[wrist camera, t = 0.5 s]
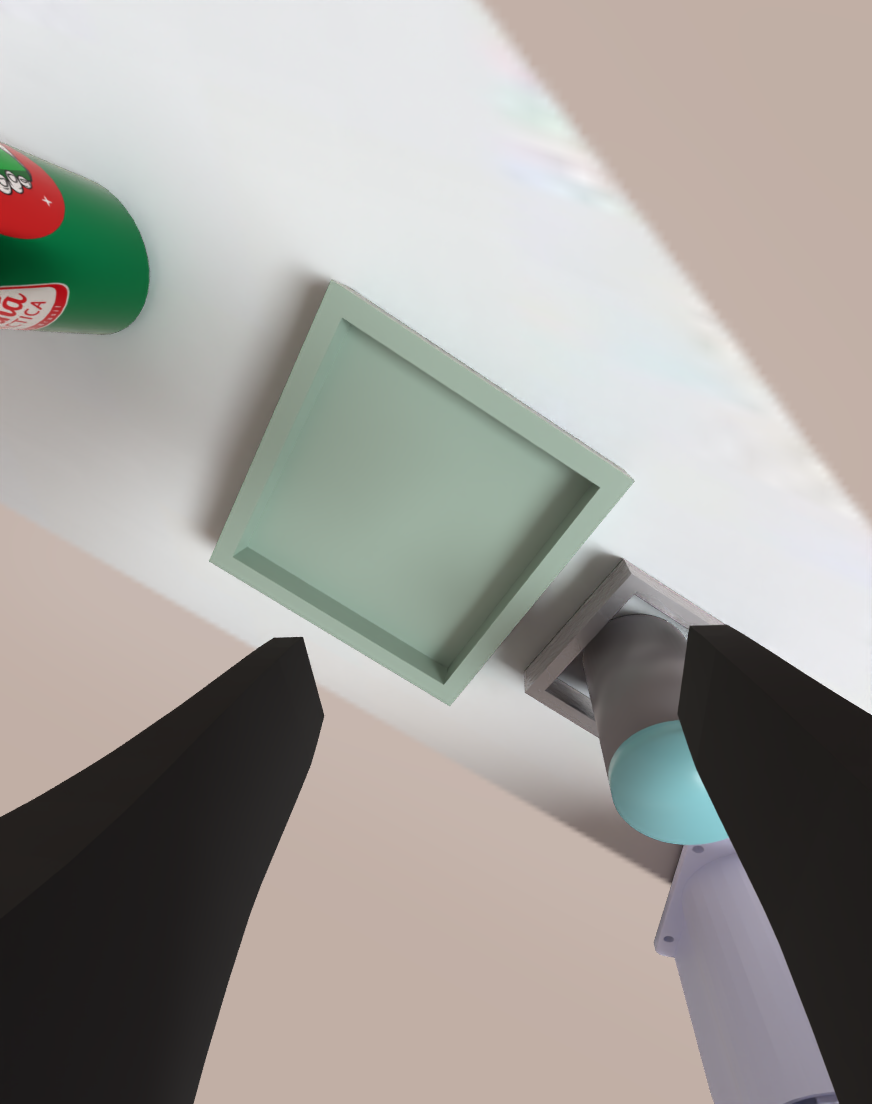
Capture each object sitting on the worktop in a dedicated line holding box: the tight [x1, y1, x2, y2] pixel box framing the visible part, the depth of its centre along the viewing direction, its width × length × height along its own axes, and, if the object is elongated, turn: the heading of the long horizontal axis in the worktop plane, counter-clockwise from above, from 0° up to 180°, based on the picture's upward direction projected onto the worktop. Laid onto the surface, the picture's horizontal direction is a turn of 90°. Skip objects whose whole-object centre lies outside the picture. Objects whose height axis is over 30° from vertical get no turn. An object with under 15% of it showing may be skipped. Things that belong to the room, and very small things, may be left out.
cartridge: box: [583, 614, 729, 845], centre depth 18 cm, size 4×4×7 cm
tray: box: [209, 280, 634, 706], centre depth 19 cm, size 12×12×2 cm
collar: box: [524, 559, 725, 738], centre depth 20 cm, size 7×7×2 cm
